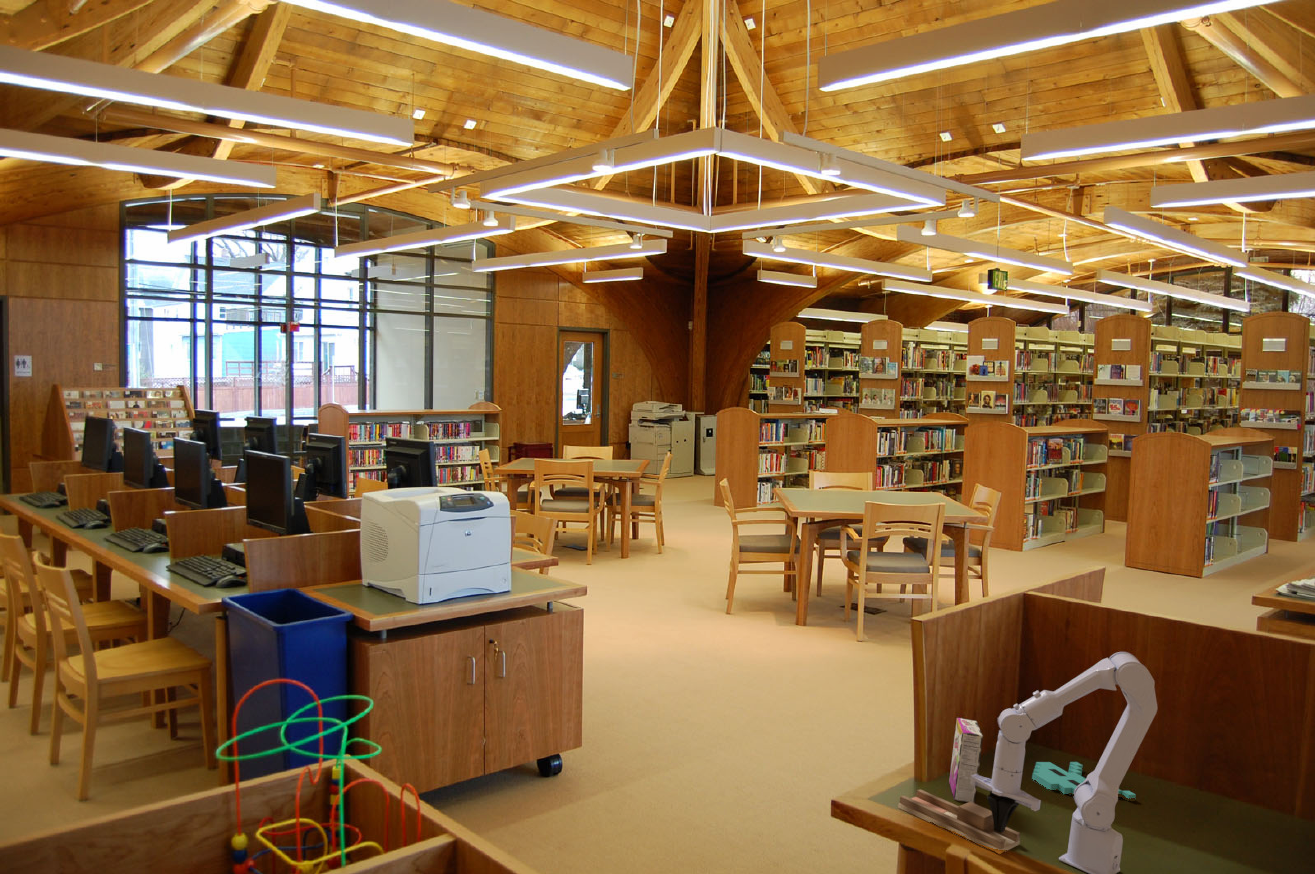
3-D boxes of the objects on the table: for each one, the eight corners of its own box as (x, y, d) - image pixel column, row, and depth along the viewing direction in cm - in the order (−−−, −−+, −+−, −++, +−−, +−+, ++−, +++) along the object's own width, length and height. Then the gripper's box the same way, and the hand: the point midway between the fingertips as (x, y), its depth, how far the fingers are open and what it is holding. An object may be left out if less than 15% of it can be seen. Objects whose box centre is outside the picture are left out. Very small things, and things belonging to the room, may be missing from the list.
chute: (1019, 844, 195) (1020, 832, 195) (999, 854, 189) (1000, 842, 189) (919, 799, 212) (920, 788, 212) (898, 807, 206) (899, 796, 206)
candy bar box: (947, 782, 225) (956, 716, 225) (968, 786, 224) (977, 720, 224) (952, 800, 214) (961, 731, 214) (974, 804, 213) (984, 735, 213)
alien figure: (1075, 769, 247) (1014, 770, 241) (1076, 761, 247) (1015, 762, 241) (1134, 803, 228) (1069, 804, 222) (1135, 794, 228) (1070, 795, 222)
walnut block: (993, 830, 197) (995, 812, 197) (982, 836, 194) (984, 817, 194) (967, 819, 202) (970, 801, 201) (956, 824, 198) (958, 806, 198)
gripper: (966, 757, 196) (958, 820, 196) (1033, 783, 185) (1023, 849, 186) (982, 752, 201) (974, 813, 201) (1048, 777, 190) (1039, 841, 190)
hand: (999, 830), depth 194 cm, fingers closed
